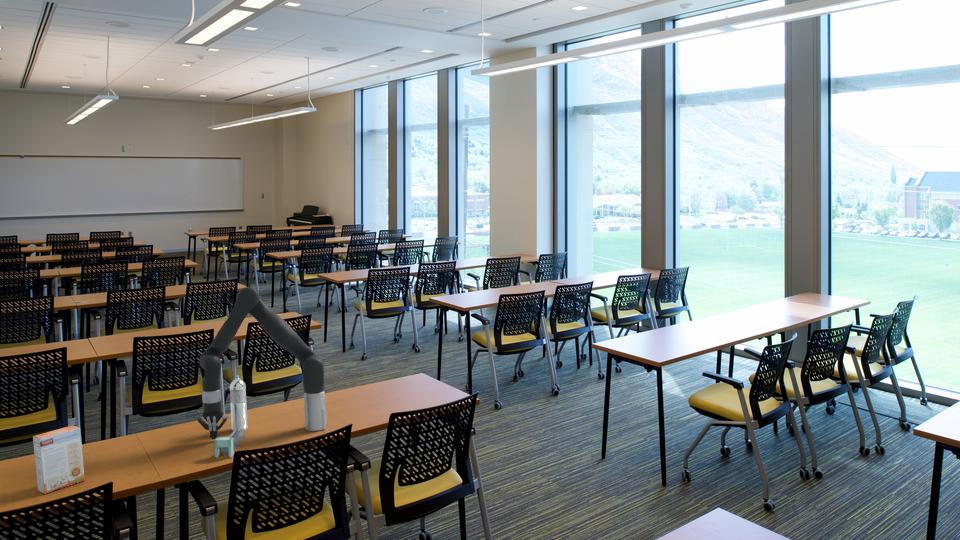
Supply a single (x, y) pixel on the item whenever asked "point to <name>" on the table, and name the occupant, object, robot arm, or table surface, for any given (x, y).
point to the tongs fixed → (234, 442)
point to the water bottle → (238, 404)
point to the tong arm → (234, 433)
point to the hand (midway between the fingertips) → (214, 438)
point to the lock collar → (223, 445)
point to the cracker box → (58, 458)
